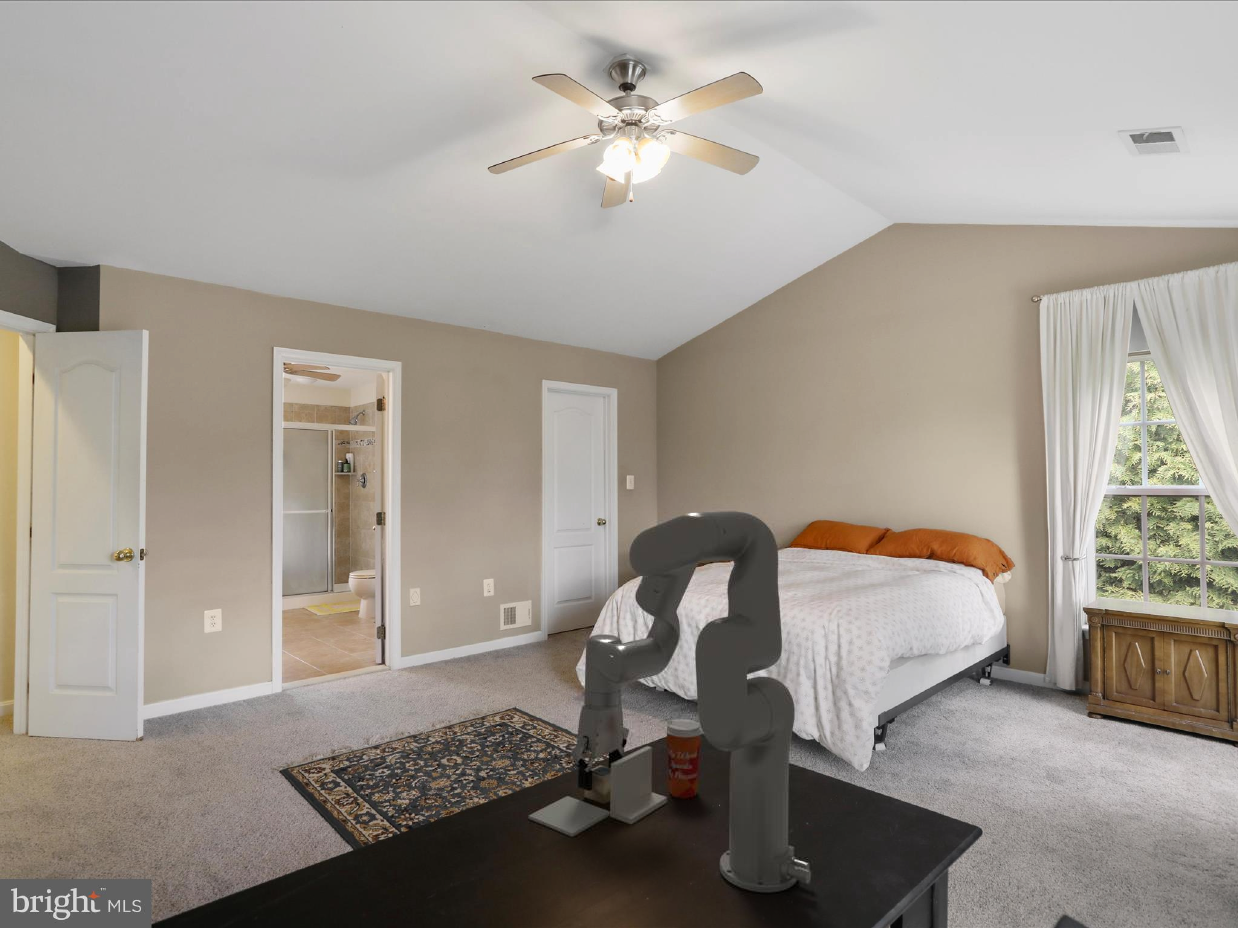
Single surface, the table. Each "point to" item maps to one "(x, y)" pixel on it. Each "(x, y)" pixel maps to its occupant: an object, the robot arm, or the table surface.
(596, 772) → the maple cube
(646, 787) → the screen
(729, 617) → the robot arm
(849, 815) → the table surface
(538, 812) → the felt mat
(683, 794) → the paper cup
